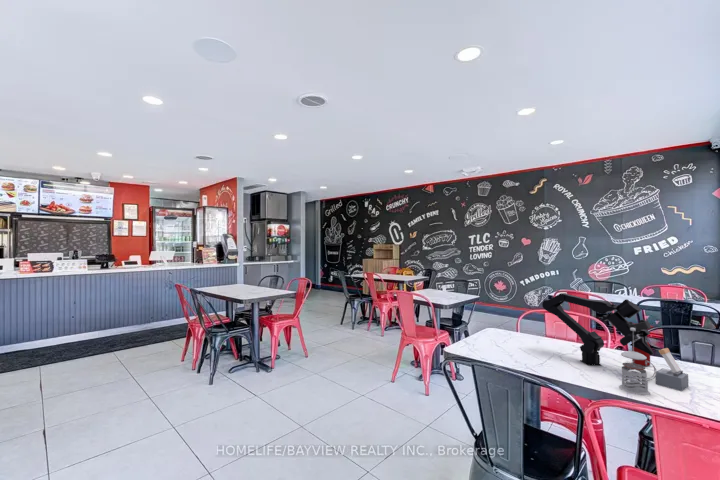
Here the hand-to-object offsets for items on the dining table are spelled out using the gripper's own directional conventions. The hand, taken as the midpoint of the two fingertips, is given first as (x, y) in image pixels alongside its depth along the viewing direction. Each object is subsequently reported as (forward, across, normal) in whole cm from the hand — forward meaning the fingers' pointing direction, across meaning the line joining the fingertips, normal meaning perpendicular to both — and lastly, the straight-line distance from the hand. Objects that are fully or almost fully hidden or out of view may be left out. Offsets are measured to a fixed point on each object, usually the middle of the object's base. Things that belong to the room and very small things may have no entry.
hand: (652, 354), depth 139 cm
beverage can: (+1, +21, +15) cm, 26 cm away
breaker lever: (+9, 0, -2) cm, 10 cm away
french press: (+8, -19, +8) cm, 22 cm away
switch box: (+12, 0, +4) cm, 13 cm away
